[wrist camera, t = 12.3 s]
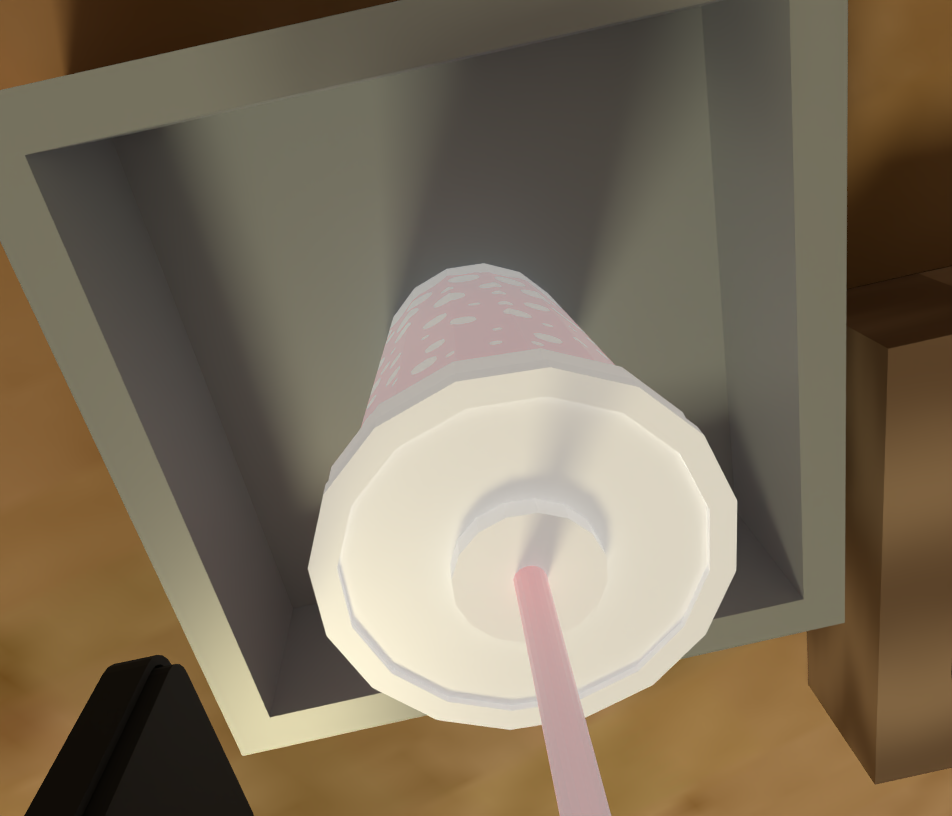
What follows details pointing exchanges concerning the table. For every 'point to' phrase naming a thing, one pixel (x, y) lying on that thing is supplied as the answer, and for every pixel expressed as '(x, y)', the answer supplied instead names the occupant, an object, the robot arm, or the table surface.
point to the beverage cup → (518, 523)
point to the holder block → (895, 533)
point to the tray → (424, 256)
